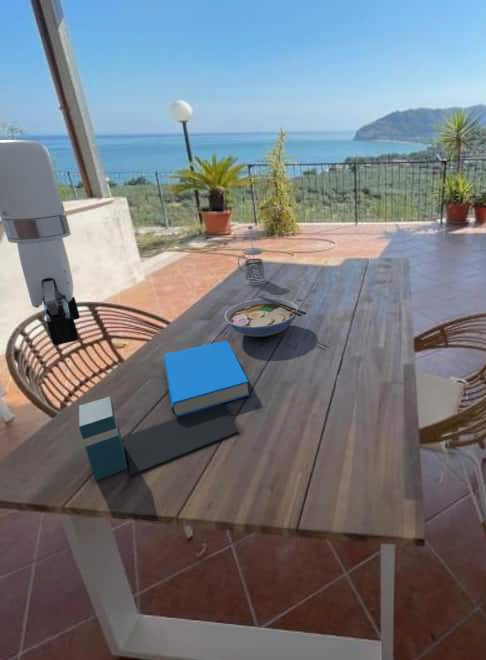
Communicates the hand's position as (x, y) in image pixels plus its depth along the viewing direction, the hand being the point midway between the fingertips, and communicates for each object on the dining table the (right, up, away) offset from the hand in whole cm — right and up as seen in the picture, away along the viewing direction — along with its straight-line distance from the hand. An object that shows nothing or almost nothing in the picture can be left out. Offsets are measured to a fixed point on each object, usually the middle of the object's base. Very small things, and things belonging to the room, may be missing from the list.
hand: (67, 330), depth 64 cm
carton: (+1, -26, +10) cm, 28 cm away
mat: (+11, -24, +17) cm, 31 cm away
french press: (+1, +10, +109) cm, 109 cm away
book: (+8, -17, +36) cm, 40 cm away
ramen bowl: (+17, -8, +62) cm, 65 cm away
